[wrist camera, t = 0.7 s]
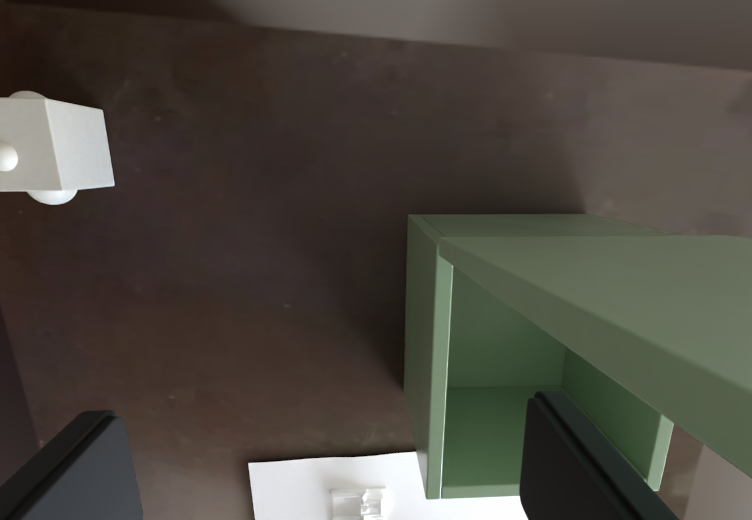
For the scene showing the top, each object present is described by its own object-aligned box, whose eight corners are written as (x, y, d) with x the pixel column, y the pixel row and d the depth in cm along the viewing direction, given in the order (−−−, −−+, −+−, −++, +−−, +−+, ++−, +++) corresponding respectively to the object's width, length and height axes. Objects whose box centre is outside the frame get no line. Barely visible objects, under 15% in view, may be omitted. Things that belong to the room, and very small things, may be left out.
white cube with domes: (22, 96, 23) (-70, 79, 18) (101, 97, 24) (32, 80, 19) (43, 200, 25) (-36, 210, 20) (117, 200, 25) (57, 209, 20)
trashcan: (564, 387, 30) (659, 491, 21) (403, 391, 30) (426, 500, 20) (588, 213, 27) (714, 242, 17) (407, 214, 26) (436, 244, 17)
